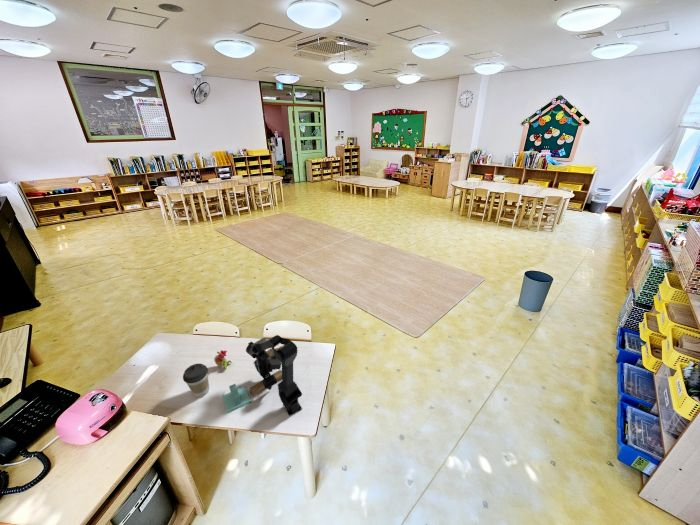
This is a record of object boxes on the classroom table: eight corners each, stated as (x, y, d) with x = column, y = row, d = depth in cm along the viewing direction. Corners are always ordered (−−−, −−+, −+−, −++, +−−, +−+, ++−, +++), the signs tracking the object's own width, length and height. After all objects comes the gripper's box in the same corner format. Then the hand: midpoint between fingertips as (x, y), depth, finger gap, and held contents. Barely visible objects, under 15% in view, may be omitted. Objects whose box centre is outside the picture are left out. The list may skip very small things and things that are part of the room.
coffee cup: (198, 381, 158) (191, 360, 151) (218, 384, 156) (211, 362, 150) (184, 399, 148) (176, 378, 141) (205, 402, 146) (197, 380, 139)
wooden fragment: (293, 342, 185) (293, 340, 184) (299, 353, 176) (298, 351, 175) (251, 355, 175) (251, 354, 174) (255, 368, 166) (254, 367, 165)
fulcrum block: (250, 402, 145) (248, 393, 143) (227, 413, 140) (224, 404, 138) (244, 387, 154) (242, 378, 151) (222, 396, 149) (220, 388, 146)
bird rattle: (217, 373, 166) (230, 369, 163) (205, 358, 162) (218, 354, 159) (223, 365, 171) (235, 361, 169) (212, 350, 167) (224, 346, 165)
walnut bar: (284, 378, 159) (283, 373, 157) (253, 397, 148) (251, 391, 147) (281, 374, 161) (280, 369, 159) (250, 393, 151) (248, 387, 149)
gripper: (285, 366, 144) (288, 389, 151) (272, 344, 158) (276, 366, 165) (262, 376, 139) (267, 399, 145) (251, 352, 153) (256, 374, 160)
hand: (267, 383), depth 154 cm, fingers open, 8 cm apart
